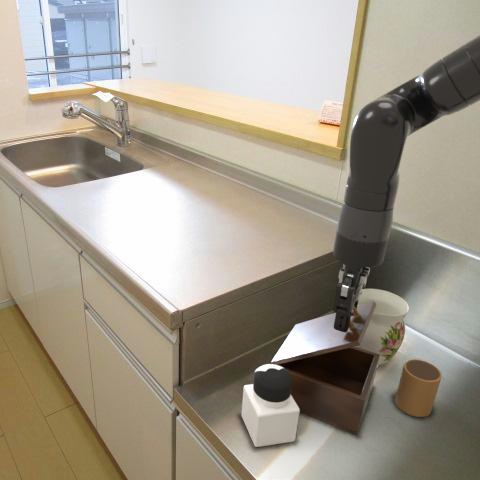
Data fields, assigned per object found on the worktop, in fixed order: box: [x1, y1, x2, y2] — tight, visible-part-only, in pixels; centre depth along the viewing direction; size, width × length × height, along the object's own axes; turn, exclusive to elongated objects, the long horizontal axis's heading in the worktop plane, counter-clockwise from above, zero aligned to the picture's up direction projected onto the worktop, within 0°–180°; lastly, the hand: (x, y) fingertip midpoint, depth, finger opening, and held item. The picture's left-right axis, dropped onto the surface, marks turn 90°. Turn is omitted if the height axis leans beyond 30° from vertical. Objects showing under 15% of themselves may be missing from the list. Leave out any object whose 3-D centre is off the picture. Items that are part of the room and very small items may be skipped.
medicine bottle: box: [241, 363, 301, 448], centre depth 75 cm, size 7×7×12 cm
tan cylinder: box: [394, 358, 443, 418], centre depth 80 cm, size 6×6×8 cm
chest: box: [278, 347, 380, 436], centre depth 83 cm, size 16×14×8 cm
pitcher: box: [355, 288, 410, 366], centre depth 92 cm, size 11×18×14 cm, turn 122°
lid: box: [270, 301, 376, 365], centre depth 80 cm, size 16×14×5 cm
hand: (344, 321), depth 77 cm, fingers closed on lid, 5 cm apart
